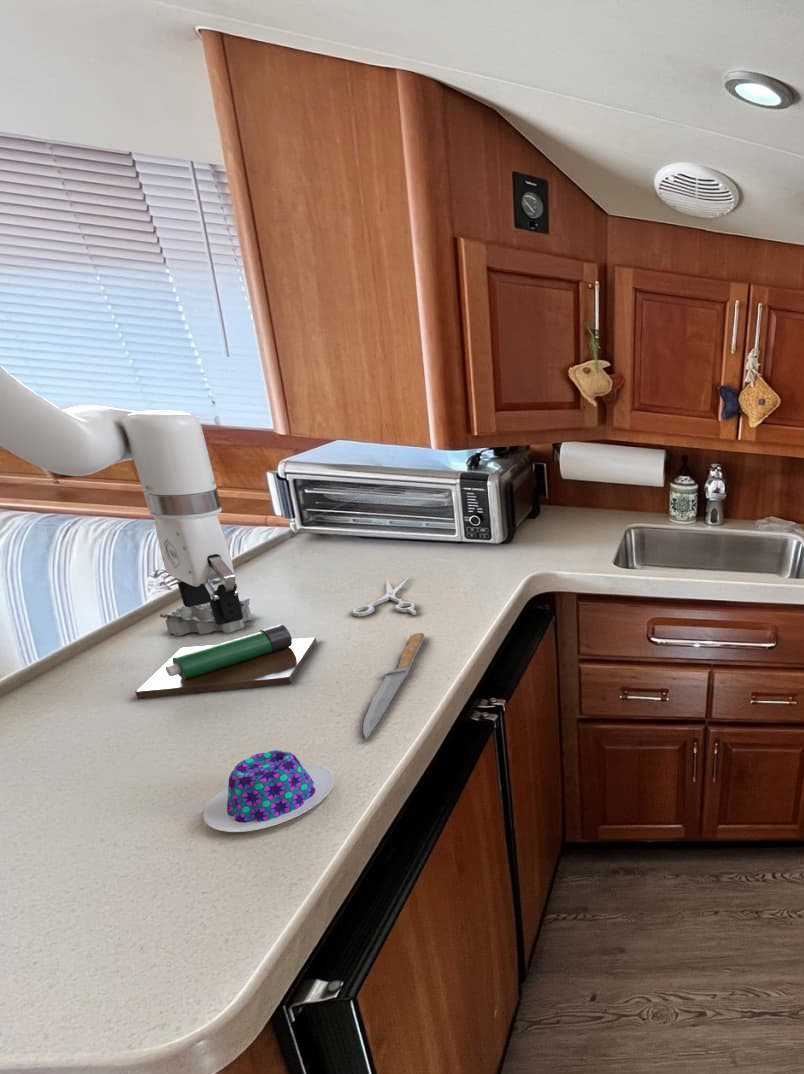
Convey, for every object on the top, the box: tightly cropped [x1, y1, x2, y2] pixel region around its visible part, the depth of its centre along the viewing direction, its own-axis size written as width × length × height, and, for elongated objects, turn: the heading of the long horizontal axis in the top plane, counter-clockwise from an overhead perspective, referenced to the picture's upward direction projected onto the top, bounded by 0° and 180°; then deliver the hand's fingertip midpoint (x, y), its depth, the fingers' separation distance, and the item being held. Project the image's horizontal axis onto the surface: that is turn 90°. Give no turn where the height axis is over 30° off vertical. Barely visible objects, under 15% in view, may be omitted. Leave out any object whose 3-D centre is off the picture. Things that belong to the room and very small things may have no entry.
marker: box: [165, 623, 293, 680], centre depth 98 cm, size 15×4×4 cm, turn 152°
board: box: [135, 637, 318, 700], centre depth 99 cm, size 18×14×1 cm
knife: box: [362, 632, 425, 740], centre depth 99 cm, size 31×1×3 cm
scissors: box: [352, 577, 417, 617], centre depth 128 cm, size 11×1×20 cm
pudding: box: [203, 749, 335, 833], centre depth 74 cm, size 12×12×5 cm
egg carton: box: [159, 598, 253, 637], centre depth 111 cm, size 11×8×4 cm
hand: (213, 612), depth 96 cm, fingers open, 9 cm apart
